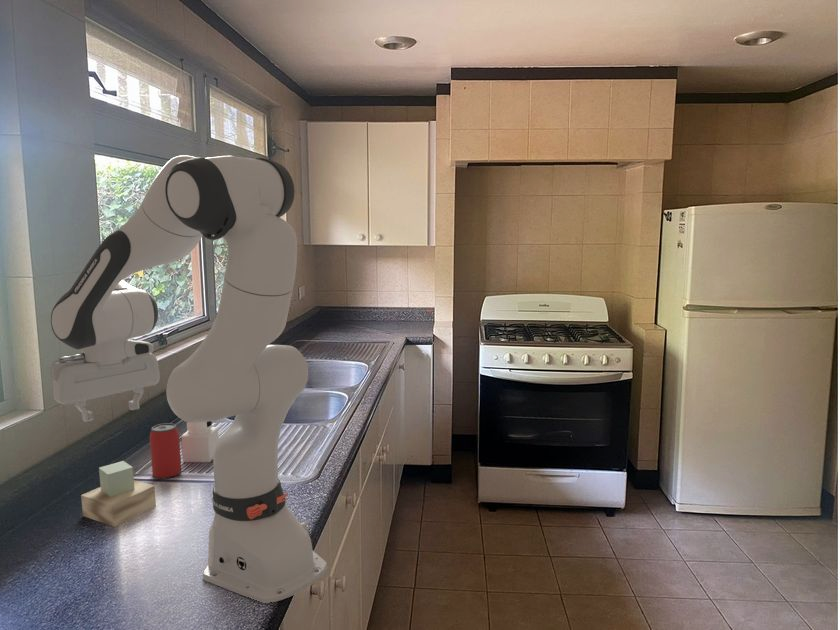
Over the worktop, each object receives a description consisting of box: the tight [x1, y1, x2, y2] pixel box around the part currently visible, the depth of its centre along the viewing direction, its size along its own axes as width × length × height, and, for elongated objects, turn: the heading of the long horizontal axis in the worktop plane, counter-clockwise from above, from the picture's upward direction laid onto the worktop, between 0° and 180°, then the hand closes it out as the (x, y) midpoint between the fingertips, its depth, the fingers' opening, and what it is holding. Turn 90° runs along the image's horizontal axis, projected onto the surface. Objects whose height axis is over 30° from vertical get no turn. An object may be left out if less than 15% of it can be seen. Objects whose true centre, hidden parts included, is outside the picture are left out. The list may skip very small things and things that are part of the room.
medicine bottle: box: [180, 421, 220, 463], centre depth 159 cm, size 7×7×12 cm
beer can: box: [149, 422, 182, 480], centre depth 148 cm, size 7×7×12 cm
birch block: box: [80, 479, 157, 528], centre depth 130 cm, size 10×10×5 cm
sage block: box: [98, 460, 135, 497], centre depth 130 cm, size 5×5×5 cm
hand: (111, 414), depth 127 cm, fingers open, 8 cm apart
